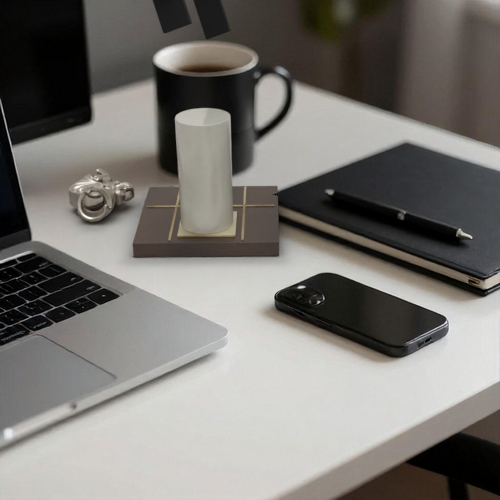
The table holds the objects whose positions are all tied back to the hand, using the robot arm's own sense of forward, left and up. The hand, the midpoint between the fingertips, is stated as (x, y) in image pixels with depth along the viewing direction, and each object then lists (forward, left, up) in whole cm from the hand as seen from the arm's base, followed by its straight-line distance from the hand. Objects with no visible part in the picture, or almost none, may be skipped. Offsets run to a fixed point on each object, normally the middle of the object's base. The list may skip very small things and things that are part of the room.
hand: (199, 32), depth 91 cm
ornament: (+11, +1, -19) cm, 22 cm away
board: (-1, +5, -19) cm, 19 cm away
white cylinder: (-1, +8, -17) cm, 19 cm away
